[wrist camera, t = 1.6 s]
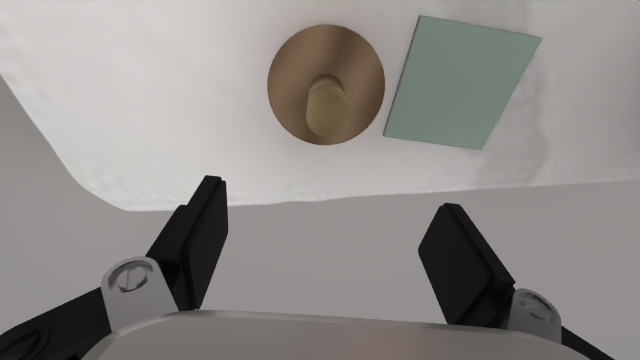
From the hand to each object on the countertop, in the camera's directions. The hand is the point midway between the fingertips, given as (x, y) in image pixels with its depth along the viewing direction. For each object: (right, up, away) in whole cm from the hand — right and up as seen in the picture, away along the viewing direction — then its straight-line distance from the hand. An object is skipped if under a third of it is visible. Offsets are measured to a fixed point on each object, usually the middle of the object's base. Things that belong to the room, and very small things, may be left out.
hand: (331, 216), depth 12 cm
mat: (+16, +13, +21) cm, 30 cm away
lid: (0, +11, +16) cm, 20 cm away
